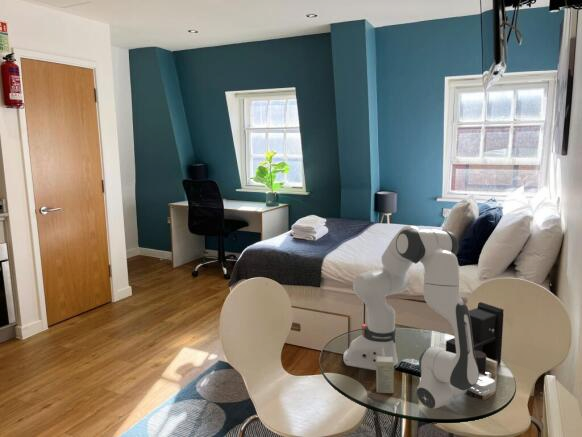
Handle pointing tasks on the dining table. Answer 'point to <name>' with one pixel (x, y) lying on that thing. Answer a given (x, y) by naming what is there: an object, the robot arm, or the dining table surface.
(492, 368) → the rack
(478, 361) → the deodorant
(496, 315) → the bookend
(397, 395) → the dining table surface
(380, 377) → the skincare box
